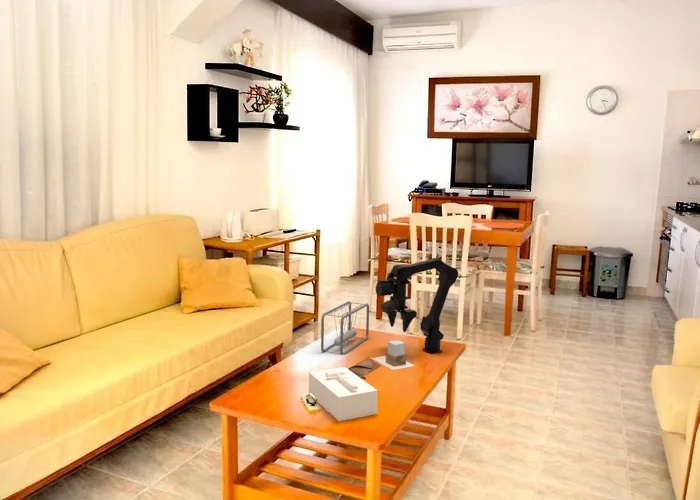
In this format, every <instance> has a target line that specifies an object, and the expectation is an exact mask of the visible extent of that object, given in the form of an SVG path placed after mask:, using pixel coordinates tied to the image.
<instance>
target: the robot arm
mask: <svg viewBox="0 0 700 500" xmlns="http://www.w3.org/2000/svg"><path fill="white" fill-rule="evenodd" d="M434 269H435V270H436V272H438V282H439V283H438V287H437V289H436V292H435V293H436V294H435V296H434V299H433V301H432V304H431V307H430V310H429V313H428V314H427V315H426V316H422V319H421V322H420V323H419V327H420V328H419V329H420V331H421V332H422V334H423V336H424V337H425V339H424V347H423V348H422V351H425V352H427V353H429V354H436V353H442V352H443V350H442V349H441V341H443V339H444V334H443V332H441V331H440V327H441V322H440V321H441V319H440V317H441V314H442V311H443V308H444V305H445V303H446V300H447V297H448V294H449V292H450V288H451V287H452V286H453V285H454V284H455V283H456V281H457V279H458V277H459V274H460V273H459V271H458V269H457V268H455V267H453V266H451V265H449V264H447V263H445V261H444V260H442V259H441V258H438V257H432V258H430V259H426V260H423V261H419V262H414V263H410V264H409V263H408V264H407V263H405V264H404V263H403V264H401V263H399V264H395V265H393V266H392V268H391V271H390V272H389V274H388V275H387V277H386V278H385V279H378V280H377V281H378V282H377V283H376V286H375V294H376V295H377V297H384V296H390V297H389V300H386V301H385V302H382V303H381V304H380V308H381V312H382V313H385V314H386V315H387V318H388V321H389V322H388V323H389V325H390V327H392V328H393V327H394V325H395V322H396V318H397V314H398V313H400V317H399V319H400V320H401V321H402V331H403V333H406V332H407V330H408V328H409V326H410V324H411V322H412V321H413V320H414V319H415V318H417V316H418V312H417V311H416V310H415V309H411V308H409V307H408V305H406V303H407V302H406V301H407V300H408V299H409V296H407V285H410V284H412V282H411V281H410V280H409V278H411V277H412V276H414V275H415V274H419V273H423V272H427V271H430V270H434Z"/></svg>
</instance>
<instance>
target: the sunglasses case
mask: <svg viewBox="0 0 700 500" xmlns="http://www.w3.org/2000/svg"><path fill="white" fill-rule="evenodd" d="M381 366H382V364H380V363H379V362H377V361H375V360H374V359H372V358H370V357H366V358H364V359H363V360H360V361H359V362H357V363H356V364H355V365H352V366H349V368H347V369H348V370H350V371H351V372H353V373H354V374H355V375H357V376H358V377H360V378H361V379H362V380H364V381H366V379H367V378H366V377H365V376H368V375H369V374H371V373H372V372H374V371H375V370H377V369H379V368H380V367H381Z"/></svg>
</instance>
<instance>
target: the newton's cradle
mask: <svg viewBox="0 0 700 500" xmlns="http://www.w3.org/2000/svg"><path fill="white" fill-rule="evenodd" d="M352 304H354V305H355V304H356V305H357V306H355V307H354V308H352ZM364 308H366V324H365V325H366V327H365V329H366V330H365V332H366V333H365V337H361V336H360V337H359V336H356V335H357V333H358V332H357V330H356V329H355V327H353V325H355V324H356V322H352V321H353V319H355V320H354V321H356V320H357V317H355V318H354V317H352V316H354V314H355V315H356V316H357V315H358V314H357V313H358V311H360V310H362V309H364ZM343 309H344V310H345V311H343ZM339 311H342V312H340V313H337V312H339ZM343 312H345V313H343ZM336 313H337V315H335V314H336ZM339 314H340V315H339ZM326 316H329V317H330V316H331V317H334V318H340V319H338V322H339V324H340V327H339V328H340V332H339V336H338V334H336V336H337V337H335V338H334V340H333V343H332V344H331V345H329V346H327V347H325V348H324V346H325V345H324V341H325V335H324V333H325V317H326ZM344 320H348V321H345V322H344ZM320 321H321V322H320V326H321V328H320V329H321V330H320V350H321V353H326V352H327V353H331V354H338V355H341V356H342V355H346V354H347V353H349V352H350V351H352V350H354V349H355V348H357V347H358V346H359V345H361V344H363V343H364V342H365V341H367V340H368V338H369V336H370V335H369V332H370V331H369V330H370V329H369V326H370V304H369V303H359V302H352V301H350V300H349V301H346V302H344V303H341V304H339V305H337V306H336V307H333V308H332V309H330V310H327V311H326V312H324V313H323V314H322V315H321V319H320ZM334 321H335V325H337V323H336V320H334ZM346 323H347V328H346V326H344V325H346ZM353 323H354V324H353ZM352 324H353V325H352ZM345 328H346V329H345ZM337 329H338V328H337V327H335V331H336V332H338V331H337ZM352 338H353V339H354V338H355V339H361V340H360V341H359V342H358V341H357V343H355V344H354V345H352V346H351V347H349V348H348V349H346V350H345V351H344V344H345V343H346V342H348V341H349V340H350V339H352ZM335 346H336V347H339V349H340V350H339V352H335V351H330V350H331V349H332V348H333V347H335ZM343 351H344V352H343Z"/></svg>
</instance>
